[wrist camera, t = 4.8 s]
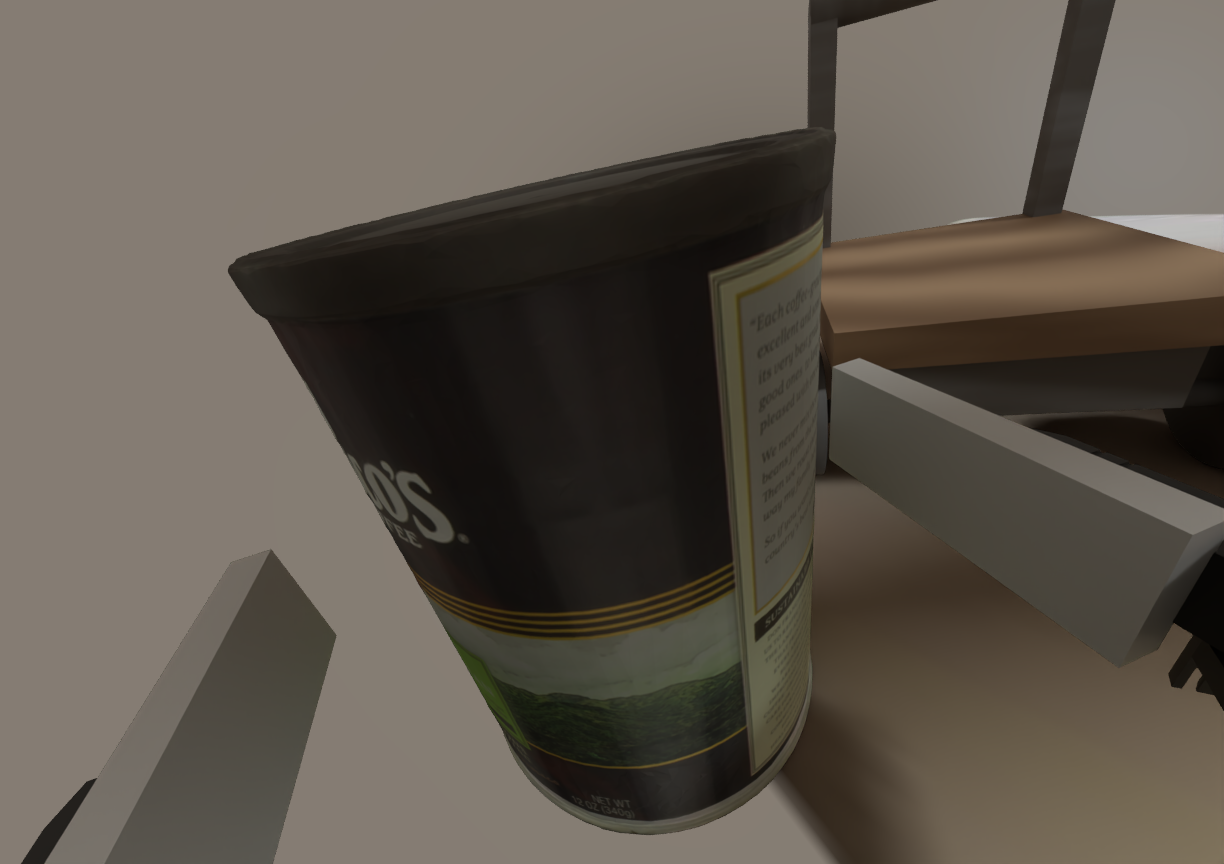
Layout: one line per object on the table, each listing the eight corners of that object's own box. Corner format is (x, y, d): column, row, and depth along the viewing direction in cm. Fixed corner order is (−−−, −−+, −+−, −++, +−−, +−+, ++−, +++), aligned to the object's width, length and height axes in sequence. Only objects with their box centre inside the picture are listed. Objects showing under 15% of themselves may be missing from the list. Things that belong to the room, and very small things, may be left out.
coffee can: (576, 958, 10) (75, 307, 3) (469, 622, 18) (268, 244, 11) (899, 685, 13) (1008, 79, 6) (684, 506, 22) (630, 159, 15)
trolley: (772, 352, 34) (762, 18, 25) (1056, 327, 29) (1177, -104, 20) (785, 500, 21) (775, -110, 11) (1321, 502, 16) (2098, -601, 6)
